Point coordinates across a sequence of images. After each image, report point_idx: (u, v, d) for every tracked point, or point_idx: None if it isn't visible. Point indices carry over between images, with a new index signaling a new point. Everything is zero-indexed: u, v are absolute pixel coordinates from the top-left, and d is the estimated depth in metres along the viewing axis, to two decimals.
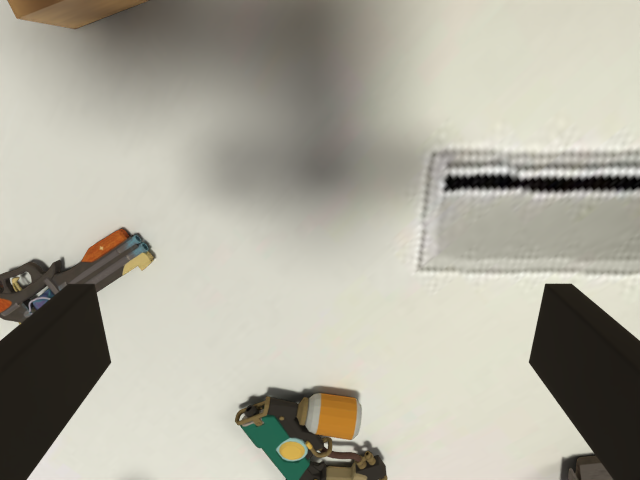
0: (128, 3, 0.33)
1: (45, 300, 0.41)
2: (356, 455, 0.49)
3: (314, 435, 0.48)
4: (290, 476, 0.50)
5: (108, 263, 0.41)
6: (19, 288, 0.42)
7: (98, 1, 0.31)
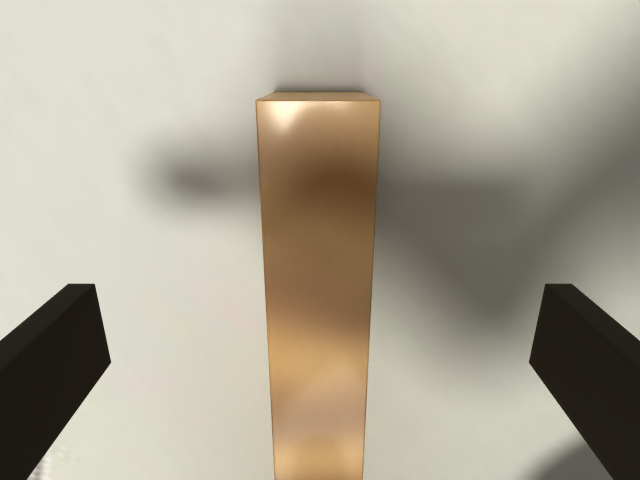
0: None
1: None
2: None
3: None
4: None
5: None
6: None
7: None
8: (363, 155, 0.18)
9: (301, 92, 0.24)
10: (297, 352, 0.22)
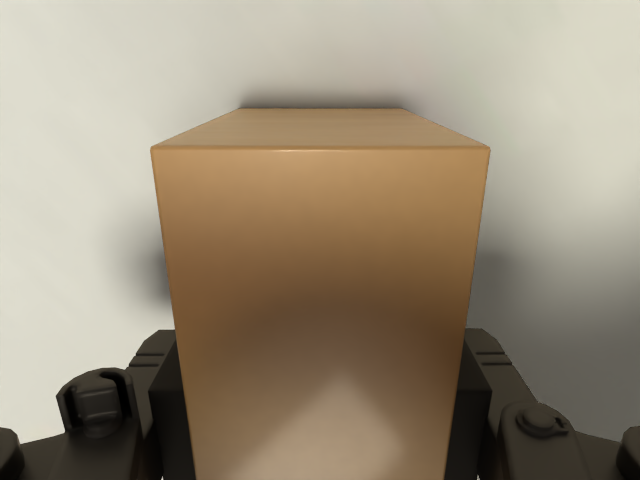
0: None
1: None
2: None
3: None
4: None
5: None
6: None
7: None
8: (434, 282, 0.07)
9: (288, 109, 0.13)
10: None
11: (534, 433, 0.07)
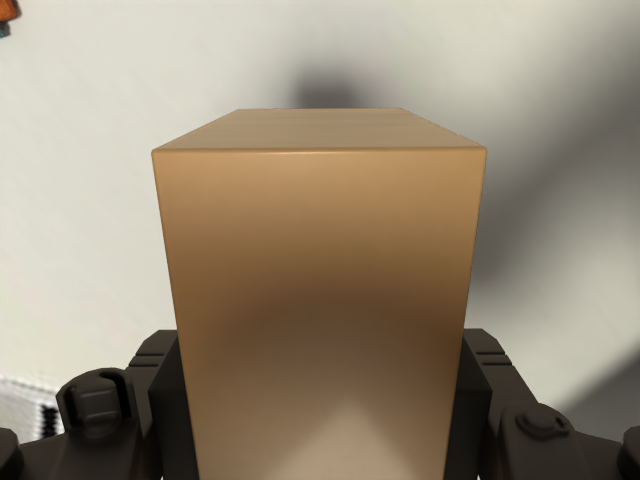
0: None
1: None
2: None
3: None
4: None
5: None
6: None
7: None
8: (432, 282, 0.07)
9: (287, 110, 0.13)
10: None
11: (534, 433, 0.07)
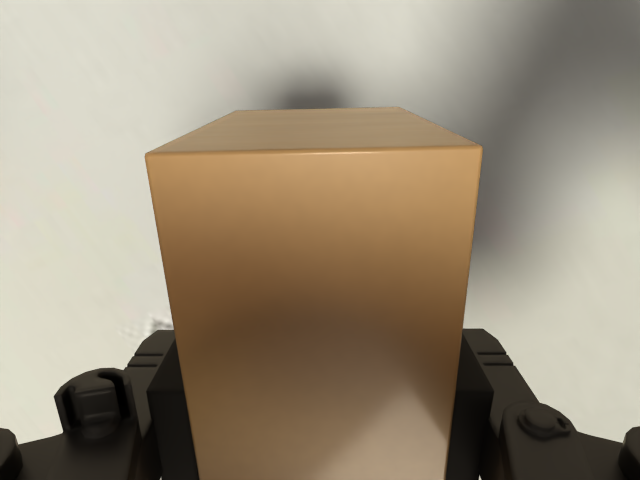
0: None
1: None
2: None
3: None
4: None
5: None
6: None
7: None
8: (430, 282, 0.07)
9: (285, 110, 0.13)
10: None
11: (535, 433, 0.07)
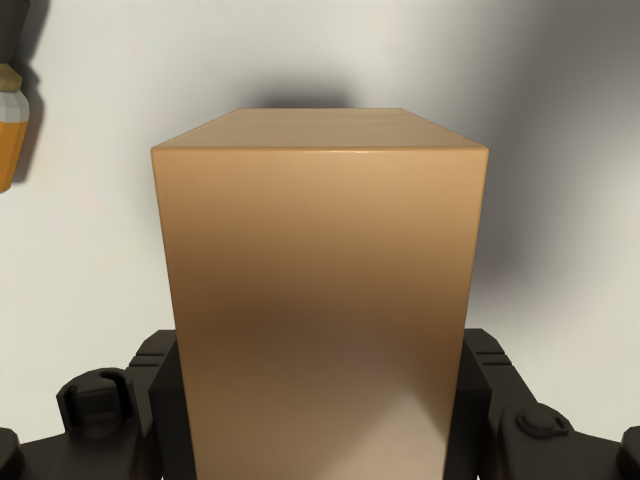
0: None
1: None
2: None
3: None
4: None
5: None
6: None
7: None
8: (433, 282, 0.07)
9: (288, 109, 0.13)
10: None
11: (533, 433, 0.07)
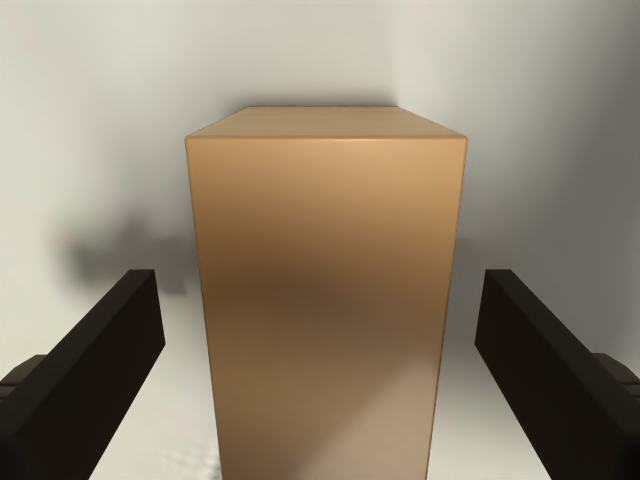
0: None
1: None
2: None
3: None
4: None
5: None
6: None
7: None
8: (421, 252, 0.08)
9: (294, 107, 0.14)
10: None
11: None
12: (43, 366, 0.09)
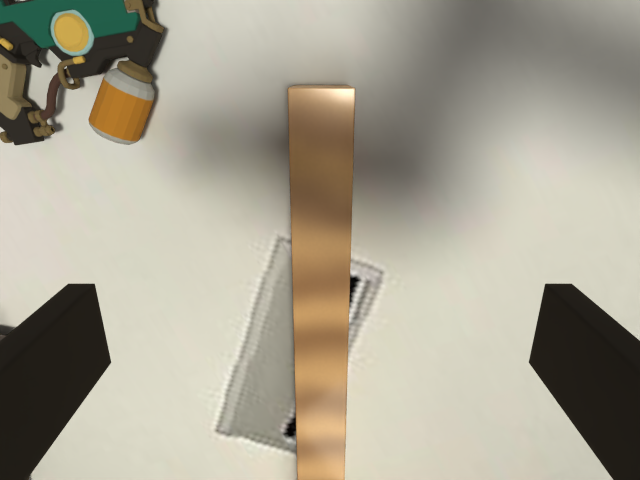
0: None
1: None
2: (50, 115, 0.38)
3: (94, 73, 0.36)
4: (22, 12, 0.35)
5: None
6: None
7: None
8: (345, 118, 0.33)
9: (310, 85, 0.39)
10: (309, 238, 0.37)
11: None
12: None
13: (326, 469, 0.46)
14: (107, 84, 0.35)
